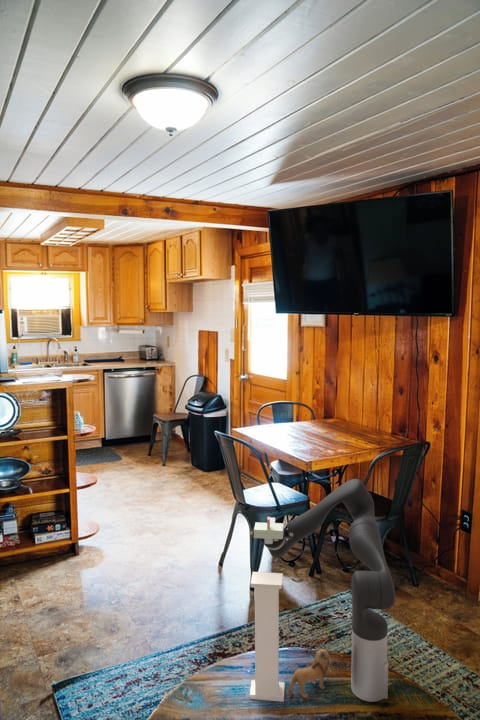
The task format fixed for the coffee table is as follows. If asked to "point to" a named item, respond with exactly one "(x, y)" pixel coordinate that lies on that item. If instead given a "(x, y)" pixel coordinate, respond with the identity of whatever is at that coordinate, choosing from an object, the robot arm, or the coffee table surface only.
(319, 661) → the lion figurine
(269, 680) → the stand
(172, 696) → the coffee table surface
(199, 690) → the coffee table surface
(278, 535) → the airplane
